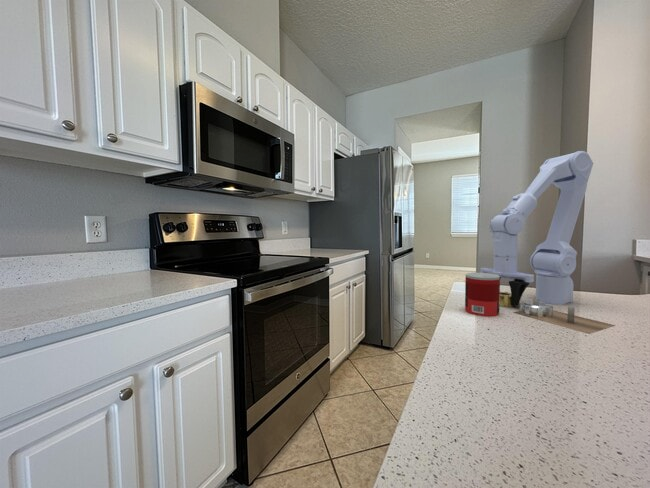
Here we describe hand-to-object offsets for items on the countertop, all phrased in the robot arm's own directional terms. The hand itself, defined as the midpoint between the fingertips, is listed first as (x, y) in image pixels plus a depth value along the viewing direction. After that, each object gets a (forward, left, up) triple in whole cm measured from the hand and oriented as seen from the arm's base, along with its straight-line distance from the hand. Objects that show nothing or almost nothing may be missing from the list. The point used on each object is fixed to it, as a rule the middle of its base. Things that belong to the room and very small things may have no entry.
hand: (504, 302), depth 81 cm
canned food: (+12, +2, -2) cm, 12 cm away
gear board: (0, +14, -1) cm, 14 cm away
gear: (+1, +9, 0) cm, 9 cm away
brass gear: (0, 0, -1) cm, 1 cm away
